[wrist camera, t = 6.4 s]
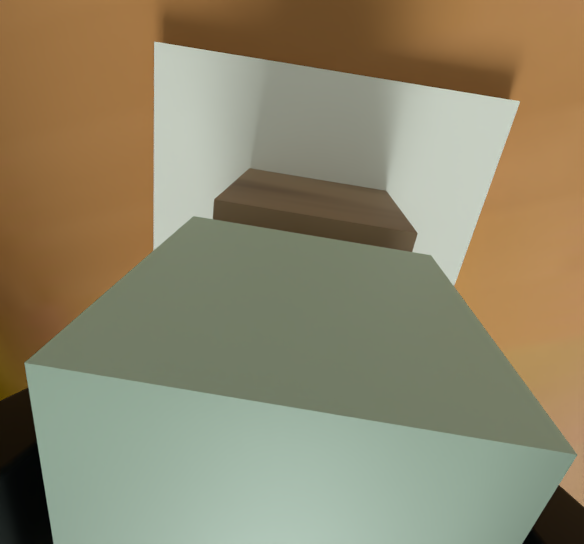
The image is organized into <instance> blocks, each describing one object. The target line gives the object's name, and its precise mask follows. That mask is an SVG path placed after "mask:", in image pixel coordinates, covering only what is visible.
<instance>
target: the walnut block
mask: <svg viewBox="0 0 584 544" xmlns="http://www.w3.org/2000/svg"><path fill="white" fill-rule="evenodd" d="M213 219H214V220H220V221H226V222H232V223H239V224H245V225H251V226H257V227H263V228H269V229H275V230H281V231H287V232H293V233H299V234H305V235H311V236H317V237H324V238H330V239H336V240H342V241H348V242H354V243H360V244H366V245H372V246H378V247H384V248H390V249H396V250H403V251H409V252H412V251H413V248H414V244H415V241H416V238H417V234H418V233H417V232H416V230H415V229H414V227H413V226H412V225H411V223H410V222H409V221H408V219H407V218H406V217H405V215H404V214H403V213H402V211H401V210H400V209H399V207H398V206H397V204H396V203H395V202H394V200H393V199H392V198H391V196H390V195H389V194H388V192H387V191H385V190H379V189H373V188H367V187H361V186H355V185H349V184H342V183H336V182H330V181H324V180H318V179H312V178H306V177H300V176H294V175H288V174H282V173H276V172H270V171H264V170H258V169H252V168H249V169H248V170H247V171H246V172H245V173H243V174H242V175H241V176H240V177H239V178H238V179H237V180H235V181H234V182H233V183H232V184H231V185H230V186H229V187H228V188H226V189H225V190H224V191H223V192H222V193H221V194H220V195H218V196H217V197H216V198H215V199H214V206H213Z"/></svg>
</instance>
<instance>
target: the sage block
mask: <svg viewBox="0 0 584 544" xmlns="http://www.w3.org/2000/svg"><path fill="white" fill-rule="evenodd" d="M25 369H26V376H27V382H28V388H29V394H30V401H31V407H32V413H33V419H34V425H35V432H36V438H37V444H38V450H39V457H40V463H41V469H42V475H43V481H44V488H45V494H46V500H47V506H48V513H49V519H50V525H51V531H52V537H53V544H522V543H523V541H524V540H525V538H526V537H527V535H528V533H529V532H530V530H531V529H532V527H533V525H534V524H535V522H536V521H537V519H538V517H539V516H540V514H541V513H542V511H543V509H544V508H545V506H546V504H547V503H548V501H549V500H550V498H551V496H552V495H553V493H554V492H555V490H556V488H557V487H558V485H559V484H560V482H561V480H562V479H563V477H564V476H565V474H566V472H567V471H568V469H569V467H570V466H571V464H572V463H573V461H574V459H575V458H576V456H577V454H576V452H575V451H574V450H573V448H572V447H571V446H570V444H569V443H568V441H567V440H566V439H565V437H564V436H563V435H562V433H561V432H560V431H559V429H558V428H557V426H556V425H555V424H554V422H553V421H552V420H551V418H550V417H549V416H548V414H547V413H546V411H545V410H544V409H543V407H542V406H541V405H540V403H539V402H538V401H537V399H536V398H535V396H534V395H533V394H532V392H531V391H530V390H529V388H528V387H527V386H526V384H525V383H524V381H523V380H522V379H521V377H520V376H519V375H518V373H517V372H516V371H515V369H514V368H513V366H512V365H511V364H510V362H509V361H508V360H507V358H506V357H505V356H504V354H503V353H502V351H501V350H500V349H499V347H498V346H497V345H496V343H495V342H494V340H493V339H492V338H491V336H490V335H489V334H488V332H487V331H486V330H485V328H484V327H483V325H482V324H481V323H480V321H479V320H478V319H477V317H476V316H475V315H474V313H473V312H472V310H471V309H470V308H469V306H468V305H467V304H466V302H465V301H464V300H463V298H462V297H461V295H460V294H459V293H458V291H457V290H456V289H455V287H454V286H453V285H452V283H451V282H450V280H449V279H448V278H447V276H446V275H445V274H444V272H443V271H442V270H441V268H440V267H439V265H438V264H437V263H436V261H435V260H434V259H433V257H432V256H431V255H427V254H421V253H415V252H409V251H403V250H396V249H390V248H384V247H378V246H372V245H366V244H360V243H354V242H348V241H342V240H336V239H330V238H324V237H317V236H311V235H305V234H299V233H293V232H287V231H281V230H275V229H269V228H263V227H257V226H251V225H245V224H239V223H232V222H226V221H220V220H214V219H208V218H202V217H196V216H193V217H192V218H191V219H190V220H188V221H187V222H186V223H185V224H184V225H183V226H181V227H180V228H179V229H178V230H177V231H176V232H175V233H173V234H172V235H171V236H170V237H169V238H168V239H166V240H165V241H164V242H163V243H162V244H161V245H160V246H158V247H157V248H156V249H155V250H154V251H153V252H152V253H150V254H149V255H148V256H147V257H146V258H145V259H143V260H142V261H141V262H140V263H139V264H138V265H137V266H135V267H134V268H133V269H132V270H131V271H130V272H128V273H127V274H126V275H125V276H124V277H123V278H122V279H120V280H119V281H118V282H117V283H116V284H115V285H113V286H112V287H111V288H110V289H109V290H108V291H107V292H105V293H104V294H103V295H102V296H101V297H100V298H99V299H97V300H96V301H95V302H94V303H93V304H92V305H90V306H89V307H88V308H87V309H86V310H85V311H84V312H82V313H81V314H80V315H79V316H78V317H77V318H75V319H74V320H73V321H72V322H71V323H70V324H69V325H67V326H66V327H65V328H64V329H63V330H62V331H61V332H59V333H58V334H57V335H56V336H55V337H54V338H52V339H51V340H50V341H49V342H48V343H47V344H46V345H44V346H43V347H42V348H41V349H40V350H39V351H37V352H36V353H35V354H34V355H33V356H32V357H31V358H29V359H28V360H27V361H26V362H25Z"/></svg>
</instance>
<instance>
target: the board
mask: <svg viewBox="0 0 584 544" xmlns="http://www.w3.org/2000/svg"><path fill="white" fill-rule="evenodd" d="M519 103H520V101H515V100H509V99H503V98H496V97H490V96H484V95H478V94H472V93H466V92H460V91H454V90H448V89H441V88H435V87H429V86H423V85H417V84H411V83H405V82H399V81H392V80H386V79H380V78H374V77H368V76H362V75H356V74H350V73H344V72H337V71H331V70H325V69H319V68H313V67H307V66H301V65H295V64H288V63H282V62H276V61H270V60H264V59H258V58H252V57H246V56H240V55H233V54H227V53H221V52H215V51H209V50H203V49H197V48H191V47H184V46H178V45H172V44H166V43H160V42H154V250H155V249H156V248H157V247H158V246H160V245H161V244H162V243H163V242H164V241H165V240H166V239H168V238H169V237H170V236H171V235H172V234H173V233H175V232H176V231H177V230H178V229H179V228H180V227H181V226H183V225H184V224H185V223H186V222H187V221H188V220H190V219H191V218H192V217H193V216H196V217H202V218H208V219H213V206H214V199H215V198H216V197H217V196H218V195H220V194H221V193H222V192H223V191H224V190H225V189H226V188H228V187H229V186H230V185H231V184H232V183H233V182H234V181H235V180H237V179H238V178H239V177H240V176H241V175H242V174H243V173H245V172H246V171H247V170H248V169H249V168H252V169H258V170H264V171H270V172H276V173H282V174H288V175H294V176H300V177H306V178H312V179H318V180H324V181H330V182H336V183H342V184H349V185H355V186H361V187H367V188H373V189H379V190H385V191H387V192H388V194H389V195H390V196H391V198H392V199H393V200H394V202H395V203H396V204H397V206H398V207H399V209H400V210H401V211H402V213H403V214H404V215H405V217H406V218H407V219H408V221H409V222H410V223H411V225H412V226H413V227H414V229H415V230H416V232H417V233H418V234H417V238H416V241H415V244H414V248H413V251H412V252H415V253H421V254H427V255H431V256H432V257H433V259H434V260H435V261H436V263H437V264H438V265H439V267H440V268H441V270H442V271H443V272H444V274H445V275H446V276H447V278H448V279H449V280H450V282H451V283H452V285H453V286H454V285H455V282H456V279H457V277H458V274H459V271H460V268H461V265H462V263H463V260H464V257H465V254H466V251H467V249H468V246H469V243H470V240H471V237H472V235H473V232H474V229H475V226H476V223H477V221H478V218H479V215H480V212H481V209H482V207H483V204H484V201H485V198H486V195H487V193H488V190H489V187H490V184H491V181H492V179H493V176H494V173H495V170H496V167H497V165H498V162H499V159H500V156H501V153H502V151H503V148H504V145H505V142H506V139H507V137H508V134H509V131H510V128H511V126H512V123H513V120H514V117H515V114H516V112H517V109H518V106H519Z"/></svg>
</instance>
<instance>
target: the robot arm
mask: <svg viewBox="0 0 584 544" xmlns="http://www.w3.org/2000/svg"><path fill="white" fill-rule="evenodd" d="M0 544H53V537H52V531H51V525H50V519H49V513H48V506H47V500H46V494H45V488H44V481H43V475H42V469H41V463H40V457H39V450H38V444H37V438H36V432H35V425H34V419H33V413H32V407H31V401H30V394H29V388H26V389H24V390H22V391H20V392H18V393H16V394H14V395H12V396H9V397H7V398H5V399H3V400H1V401H0ZM522 544H584V507H583V506H582V505H581V504H580V503H579V502H577V501H576V500H575V499H574V498H573V497H572V496H571V495H570V494H568V493H567V492H566V491H565V490H564V489H563V488H562V487H560V486H559V485H558V487H557V488H556V490H555V492H554V493H553V495H552V496H551V498H550V500H549V501H548V503H547V504H546V506H545V508H544V509H543V511H542V513H541V514H540V516H539V517H538V519H537V521H536V522H535V524H534V525H533V527H532V529H531V530H530V532H529V533H528V535H527V537H526V538H525V540H524V541H523V543H522Z"/></svg>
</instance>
